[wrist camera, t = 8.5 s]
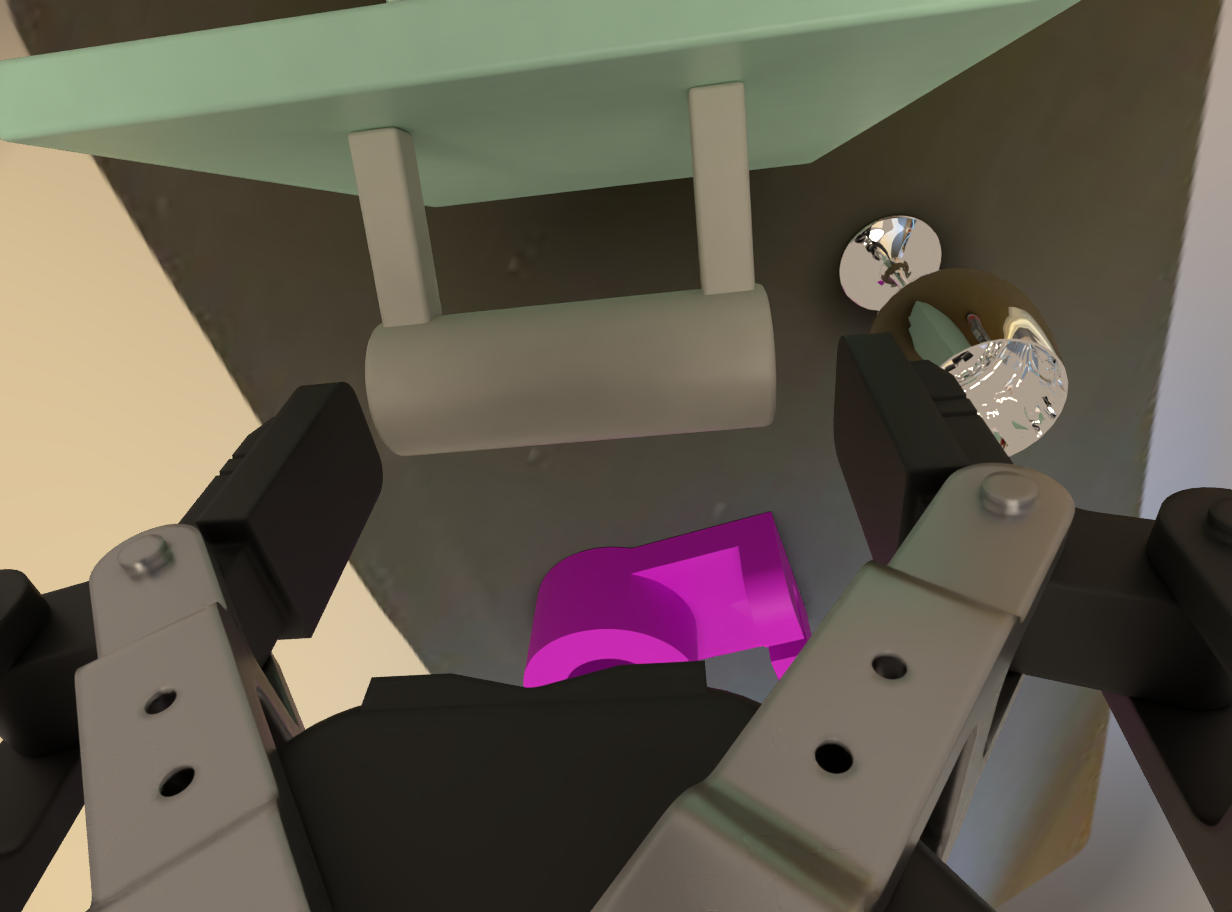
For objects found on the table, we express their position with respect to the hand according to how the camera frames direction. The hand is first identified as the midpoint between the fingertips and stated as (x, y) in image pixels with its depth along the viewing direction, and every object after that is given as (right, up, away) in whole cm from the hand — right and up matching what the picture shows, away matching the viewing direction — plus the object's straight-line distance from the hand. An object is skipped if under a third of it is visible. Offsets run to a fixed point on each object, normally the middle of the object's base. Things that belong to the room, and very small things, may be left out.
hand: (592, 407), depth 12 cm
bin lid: (0, +6, +2) cm, 7 cm away
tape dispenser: (+3, -9, +34) cm, 35 cm away
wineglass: (+13, +8, +21) cm, 26 cm away
